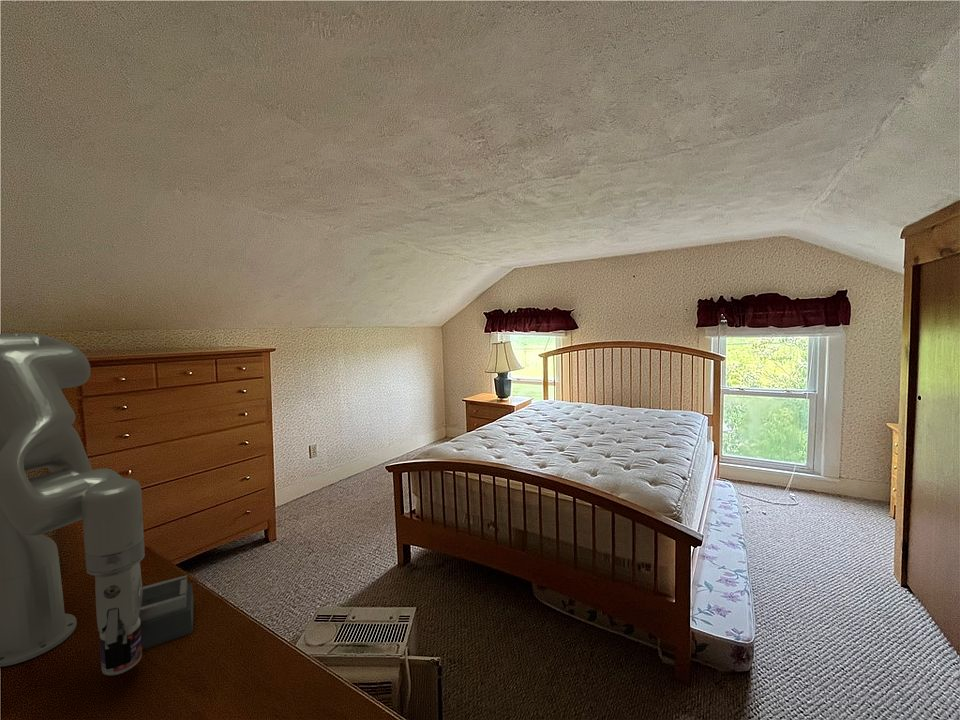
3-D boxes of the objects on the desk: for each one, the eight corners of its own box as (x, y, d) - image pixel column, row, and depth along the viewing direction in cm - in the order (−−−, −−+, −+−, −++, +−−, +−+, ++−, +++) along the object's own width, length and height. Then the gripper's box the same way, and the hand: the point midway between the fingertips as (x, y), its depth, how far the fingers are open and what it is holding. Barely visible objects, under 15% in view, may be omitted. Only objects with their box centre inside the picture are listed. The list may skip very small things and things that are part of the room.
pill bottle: (119, 679, 70) (115, 626, 69) (93, 673, 71) (89, 620, 70) (150, 654, 76) (147, 604, 74) (125, 648, 77) (122, 598, 75)
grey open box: (127, 654, 79) (124, 617, 78) (135, 622, 87) (132, 587, 86) (192, 633, 84) (189, 597, 83) (193, 604, 92) (191, 572, 92)
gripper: (137, 575, 66) (143, 679, 68) (149, 525, 80) (154, 613, 82) (72, 590, 62) (80, 701, 64) (97, 535, 76) (103, 627, 78)
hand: (121, 651), depth 73 cm, fingers closed on pill bottle, 5 cm apart
